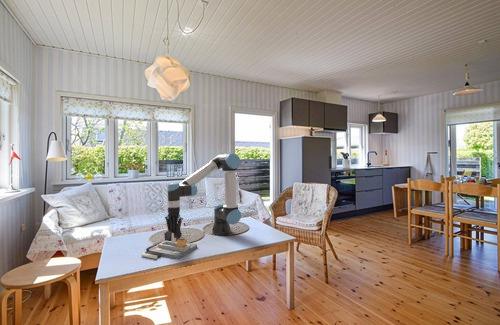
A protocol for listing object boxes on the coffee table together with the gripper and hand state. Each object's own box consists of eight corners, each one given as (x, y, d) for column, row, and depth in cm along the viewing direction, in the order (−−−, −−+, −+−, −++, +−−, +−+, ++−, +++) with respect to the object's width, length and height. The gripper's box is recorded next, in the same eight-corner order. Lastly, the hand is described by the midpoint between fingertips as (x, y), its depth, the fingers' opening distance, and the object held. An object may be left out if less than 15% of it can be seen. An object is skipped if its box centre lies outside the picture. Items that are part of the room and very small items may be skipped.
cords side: (160, 243, 170) (160, 241, 170) (165, 244, 168) (165, 242, 168) (145, 251, 157) (145, 248, 157) (150, 252, 155) (150, 249, 155)
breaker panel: (171, 243, 171) (171, 237, 171) (197, 247, 163) (197, 241, 163) (150, 253, 153) (150, 247, 153) (178, 259, 145) (178, 252, 145)
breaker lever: (181, 246, 159) (181, 236, 158) (186, 247, 157) (186, 237, 157) (177, 249, 154) (177, 238, 154) (182, 249, 153) (182, 239, 153)
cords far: (140, 256, 148) (140, 253, 148) (146, 253, 152) (146, 250, 152) (155, 259, 144) (155, 256, 144) (161, 256, 148) (161, 253, 148)
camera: (175, 243, 171) (175, 229, 170) (162, 242, 173) (162, 228, 173) (184, 237, 184) (184, 224, 183) (173, 236, 186) (173, 223, 186)
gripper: (161, 206, 156) (162, 242, 157) (178, 208, 152) (178, 245, 152) (169, 204, 163) (169, 239, 164) (185, 206, 159) (185, 241, 159)
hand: (173, 242), depth 158 cm, fingers closed
